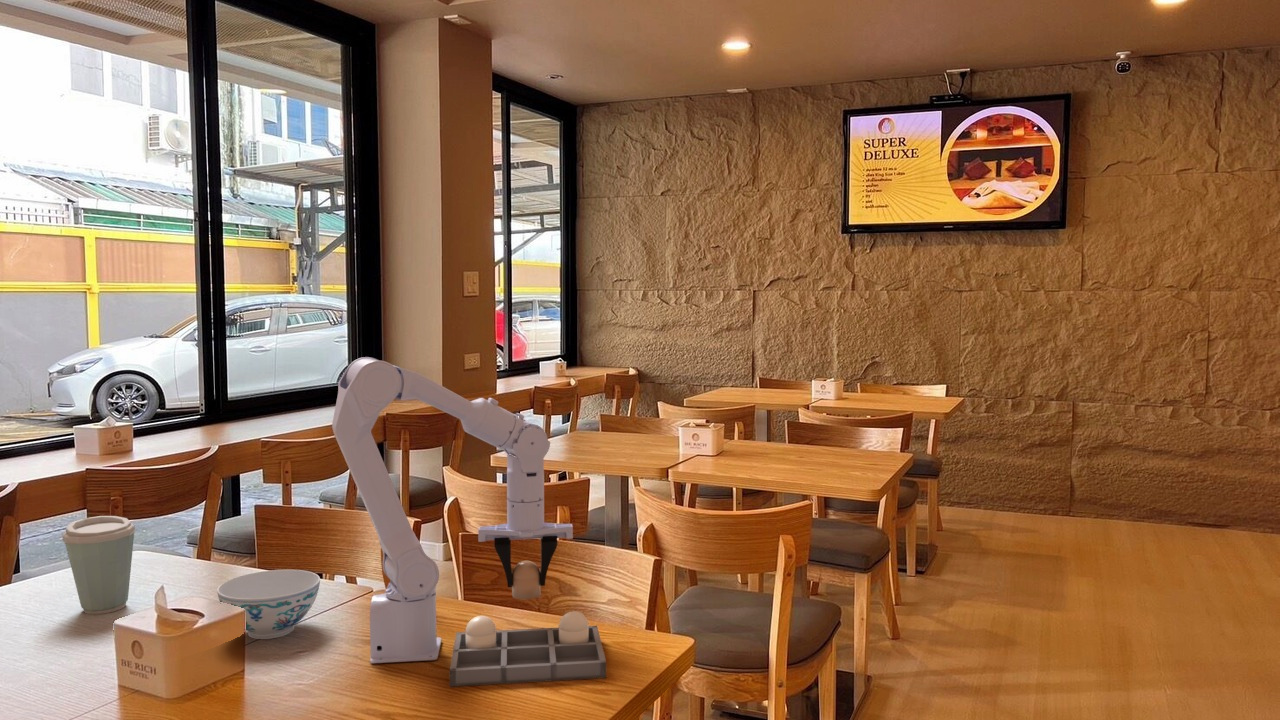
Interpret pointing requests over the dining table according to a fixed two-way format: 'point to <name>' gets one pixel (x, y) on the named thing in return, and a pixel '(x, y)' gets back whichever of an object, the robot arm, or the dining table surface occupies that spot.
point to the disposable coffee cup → (101, 561)
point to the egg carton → (527, 653)
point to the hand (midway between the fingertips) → (526, 584)
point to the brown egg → (526, 581)
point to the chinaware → (271, 599)
